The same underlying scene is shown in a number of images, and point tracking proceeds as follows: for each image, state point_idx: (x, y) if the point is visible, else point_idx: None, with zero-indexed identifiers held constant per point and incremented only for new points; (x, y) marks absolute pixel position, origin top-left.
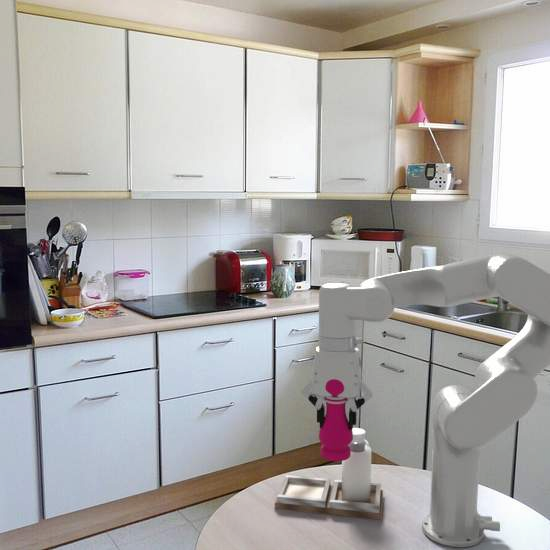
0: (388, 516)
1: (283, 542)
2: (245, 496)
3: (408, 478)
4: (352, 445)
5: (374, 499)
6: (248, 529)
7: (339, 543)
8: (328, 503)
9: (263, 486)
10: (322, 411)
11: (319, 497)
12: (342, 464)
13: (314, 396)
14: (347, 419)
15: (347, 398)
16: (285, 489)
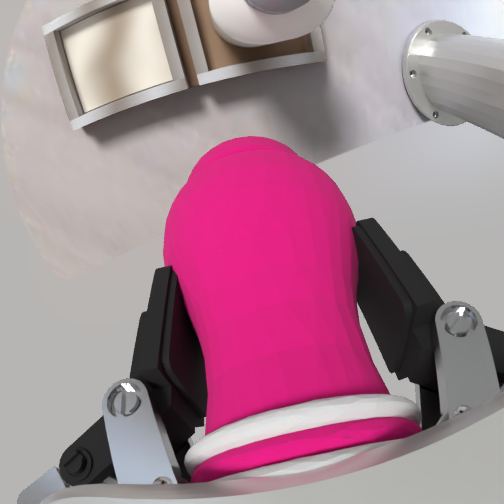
0: (333, 41)
1: (161, 223)
2: (10, 119)
3: None
4: (266, 7)
5: None
6: (85, 217)
7: None
8: (189, 65)
9: (16, 60)
10: (205, 416)
11: (158, 52)
12: (215, 19)
13: (108, 480)
14: (356, 291)
15: (419, 425)
16: (68, 73)
